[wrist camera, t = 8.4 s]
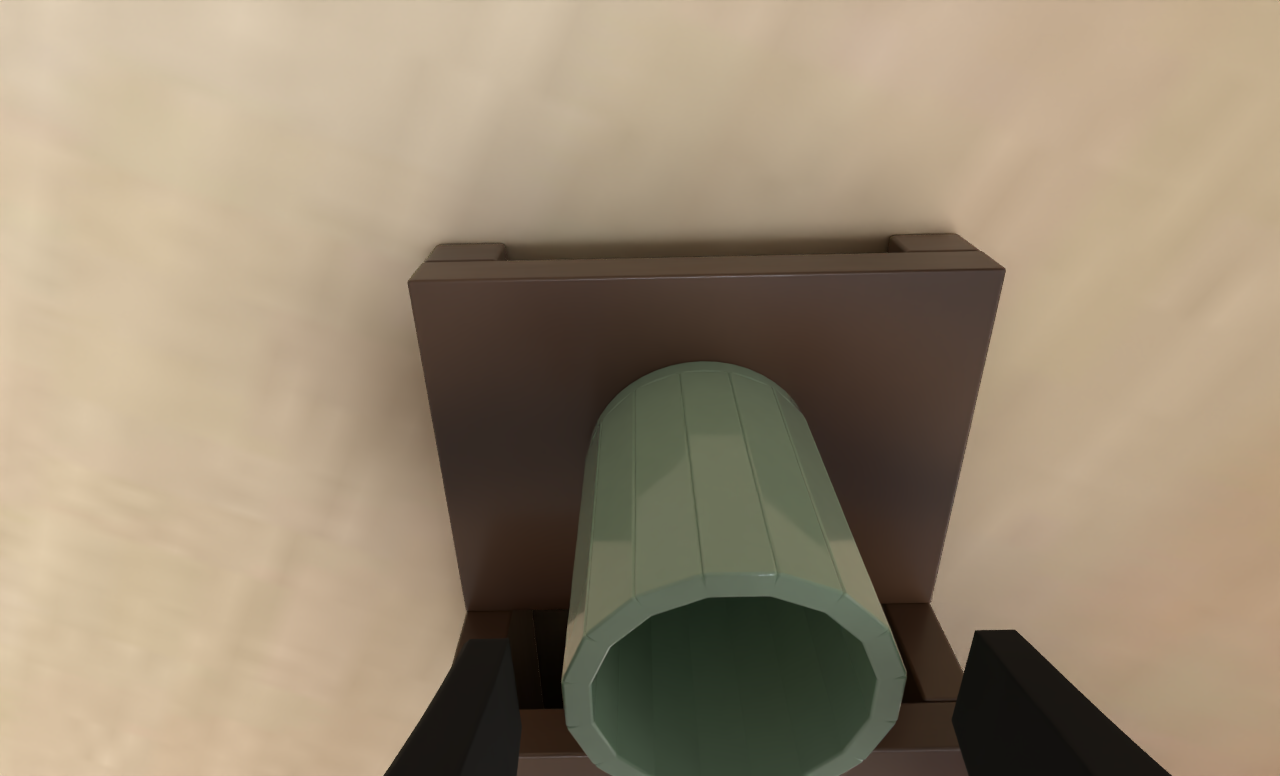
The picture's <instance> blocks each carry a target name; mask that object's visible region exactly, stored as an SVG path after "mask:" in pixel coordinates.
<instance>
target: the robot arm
mask: <svg viewBox="0 0 1280 776" xmlns="http://www.w3.org/2000/svg"><path fill="white" fill-rule="evenodd" d="M951 720H952V724H953V727H954V730H955V734H956V737H957V740H958V744H959V747H960V750H961V754H962V757H963V760H964V763H965V766H966V769H967V772H968V775H969V776H1172V775H1170V774H1169V773H1168V772H1167V771H1166V770H1165V769H1164V768H1162V767H1161V766H1160V765H1159V764H1158V763H1157V762H1156V761H1154V760H1153V759H1152V758H1151V757H1150V756H1149V755H1148V754H1147V753H1146V752H1144V751H1143V750H1142V749H1141V748H1140V747H1139V746H1138V745H1137V744H1136V743H1135V742H1133V741H1132V740H1131V739H1130V738H1129V737H1128V736H1127V735H1126V734H1125V733H1124V732H1122V731H1121V730H1120V729H1119V728H1118V727H1117V726H1116V725H1115V724H1114V723H1113V722H1112V721H1111V720H1110V719H1108V718H1107V717H1106V716H1105V715H1104V714H1103V713H1102V712H1101V711H1100V710H1099V709H1098V708H1097V707H1096V706H1095V705H1094V704H1092V703H1091V702H1090V701H1089V700H1088V699H1087V698H1086V697H1085V696H1084V695H1083V694H1082V693H1081V692H1080V691H1079V690H1078V689H1077V688H1076V687H1075V686H1073V685H1072V684H1071V683H1070V682H1069V681H1068V680H1067V679H1066V678H1065V677H1064V676H1063V675H1062V674H1061V673H1060V672H1059V671H1058V670H1057V669H1056V668H1055V667H1054V666H1053V665H1052V664H1051V663H1050V662H1049V661H1047V660H1046V659H1045V658H1044V657H1043V656H1042V655H1041V654H1040V653H1039V652H1038V651H1037V650H1036V649H1035V648H1034V647H1033V646H1032V645H1031V644H1030V643H1029V642H1028V641H1027V640H1025V639H1024V638H1023V637H1022V636H1021V635H1020V634H1019V633H1018V632H1017V631H1016V630H975V633H974V637H973V641H972V645H971V648H970V652H969V656H968V660H967V663H966V667H965V671H964V674H963V678H962V682H961V686H960V689H959V693H958V697H957V701H956V704H955V708H954V712H953V716H952V719H951ZM521 730H522V724H521V717H520V711H519V704H518V697H517V690H516V683H515V676H514V669H513V662H512V655H511V648H510V641H509V638H497V639H469V640H468V641H467V642H466V643H465V644H464V645H463V647H462V649H461V650H460V652H459V654H458V656H457V658H456V660H455V662H454V664H453V665H452V667H451V669H450V671H449V672H448V674H447V676H446V678H445V679H444V681H443V683H442V685H441V686H440V688H439V690H438V691H437V693H436V695H435V697H434V698H433V700H432V701H431V703H430V705H429V706H428V708H427V710H426V711H425V713H424V715H423V716H422V718H421V719H420V721H419V723H418V724H417V726H416V727H415V729H414V730H413V732H412V733H411V735H410V736H409V738H408V739H407V741H406V742H405V744H404V746H403V747H402V749H401V750H400V752H399V753H398V755H397V756H396V758H395V759H394V761H393V762H392V764H391V765H390V767H389V768H388V770H387V771H386V773H385V774H384V776H517V769H518V759H519V750H520V740H521Z"/></svg>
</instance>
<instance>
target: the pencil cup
mask: <svg viewBox="0 0 1280 776" xmlns="http://www.w3.org/2000/svg"><path fill="white" fill-rule="evenodd" d="M906 672H907V671H906V668H905V666H904V663H903V660H902V658H901V655H900V652H899V650H898V647H897V645H896V642H895V639H894V637H893V634H892V631H891V629H890V626H889V624H888V621H887V619H886V616H885V614H884V611H883V609H882V607H881V604H880V602H879V599H878V597H877V594H876V592H875V589H874V587H873V584H872V582H871V579H870V577H869V574H868V572H867V569H866V567H865V564H864V562H863V559H862V557H861V554H860V552H859V549H858V547H857V545H856V542H855V540H854V537H853V535H852V532H851V530H850V527H849V525H848V522H847V520H846V517H845V515H844V512H843V510H842V507H841V505H840V502H839V500H838V497H837V495H836V492H835V490H834V487H833V485H832V482H831V480H830V478H829V475H828V473H827V470H826V468H825V465H824V463H823V460H822V458H821V455H820V453H819V450H818V448H817V445H816V443H815V440H814V438H813V435H812V433H811V430H810V428H809V425H808V423H807V420H806V418H805V417H804V415H803V413H802V411H801V410H800V408H799V407H798V405H797V404H796V402H795V401H794V400H793V399H792V398H791V397H790V396H789V394H788V393H787V392H786V391H785V390H783V389H782V388H781V387H780V386H778V385H777V384H776V383H775V382H773V381H772V380H770V379H768V378H767V377H765V376H763V375H762V374H759V373H757V372H755V371H752V370H750V369H748V368H744V367H741V366H737V365H734V364H728V363H722V362H711V361H698V362H686V363H681V364H676V365H671V366H668V367H665V368H662V369H658V370H656V371H653V372H651V373H649V374H647V375H645V376H643V377H641V378H639V379H638V380H636V381H635V382H633V383H631V384H630V385H628V386H627V387H626V388H625V389H624V390H622V391H621V392H620V393H619V394H617V396H616V397H615V398H614V399H613V400H612V401H611V402H610V403H609V404H608V405H607V407H606V408H605V410H604V411H603V412H602V414H601V415H600V417H599V419H598V421H597V423H596V425H595V427H594V430H593V433H592V436H591V438H590V443H589V449H588V452H587V455H586V460H585V468H584V478H583V487H582V496H581V505H580V514H579V523H578V533H577V542H576V551H575V560H574V569H573V579H572V588H571V597H570V606H569V615H568V624H567V634H566V643H565V652H564V661H563V670H562V680H561V685H562V695H563V705H564V715H565V723H566V726H567V728H568V730H569V732H570V733H571V734H572V736H573V737H574V739H575V740H576V741H577V743H578V744H579V745H580V747H581V748H582V749H583V751H584V752H585V754H586V755H587V756H588V758H589V759H590V760H591V762H592V763H593V764H594V765H596V767H597V768H599V769H601V770H602V771H604V772H606V773H607V774H609V775H611V776H840V775H842V774H843V773H845V772H847V771H848V770H850V769H852V768H854V767H855V766H857V765H859V764H860V763H862V762H863V760H865V759H867V757H868V756H869V755H870V754H871V753H872V751H873V750H874V749H875V748H876V747H877V745H878V744H879V743H880V742H881V741H882V739H883V738H884V737H885V736H886V735H887V733H888V732H889V731H890V730H891V729H892V727H893V726H894V725H895V723H896V721H897V720H898V716H899V711H900V707H901V702H902V698H903V693H904V688H905V684H906V679H907V675H906Z"/></svg>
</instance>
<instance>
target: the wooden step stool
mask: <svg viewBox="0 0 1280 776" xmlns="http://www.w3.org/2000/svg"><path fill="white" fill-rule="evenodd" d="M1005 272H1006V270H1005V268H1004V267H1003V266H1001V265H1000V264H999V263H997V262H996V261H995V260H993V259H992V258H990V257H989V256H988V255H986V254H985V253H984V252H982V251H979V250H978V249H977V248H976V247H974V246H973V245H972V244H970V243H969V242H968V241H966V240H965V239H964V238H962V237H961V236H959V235H957V234H932V235H894V236H891V237H890V240H889V247H888V253H860V254H811V255H763V256H714V257H665V258H616V259H568V260H519V261H507V257H506V248H505V246H504V244H501V243H498V244H450V245H438V246H436V248H435V249H434V250H433V251H432V253H431V254H430V255H429V256H428V258H427V259H426V260H425V261H424V263H422V264H421V265H420V266H419V268H418V269H417V270H416V271H415V273H414V274H413V275H412V276H411V278H410V279H409V280H408V288H409V293H410V299H411V304H412V310H413V316H414V321H415V327H416V332H417V338H418V344H419V349H420V355H421V360H422V366H423V372H424V377H425V383H426V388H427V394H428V400H429V405H430V411H431V416H432V422H433V428H434V433H435V439H436V444H437V450H438V456H439V461H440V467H441V472H442V478H443V484H444V489H445V495H446V500H447V506H448V512H449V517H450V523H451V528H452V534H453V540H454V545H455V551H456V556H457V562H458V568H459V573H460V579H461V584H462V590H463V596H464V601H465V607H466V610H467V613H466V616H465V620H464V624H463V627H462V631H461V634H460V638H459V642H458V645H457V649H456V653H455V656H454V660H453V664H454V662H455V660H456V658H457V656H458V654H459V652H460V650H461V649H462V647H463V645H464V644H465V643H466V642H467V641H468V640H469V639H497V638H509V641H510V648H511V655H512V662H513V669H514V676H515V683H516V690H517V697H518V704H519V711H520V717H521V724H522V730H521V740H520V750H519V759H518V769H517V776H611V775H609V774H607V773H606V772H604V771H602V770H601V769H599V768H597V767H596V765H594V764H593V763H592V762H591V760H590V759H589V758H588V756H587V755H586V754H585V752H584V751H583V749H582V748H581V747H580V745H579V744H578V743H577V741H576V740H575V739H574V737H573V736H572V734H571V733H570V732H569V730H568V728H567V726H566V723H565V715H564V709H544V704H543V696H542V688H541V679H540V671H539V663H538V655H537V646H536V638H535V630H534V621H533V613H532V610H564V609H569V606H570V597H571V588H572V579H573V569H574V560H575V551H576V542H577V533H578V523H579V514H580V505H581V496H582V487H583V478H584V468H585V460H586V455H587V452H588V449H589V443H590V438H591V436H592V433H593V430H594V427H595V425H596V423H597V421H598V419H599V417H600V415H601V414H602V412H603V411H604V410H605V408H606V407H607V405H608V404H609V403H610V402H611V401H612V400H613V399H614V398H615V397H616V396H617V394H619V393H620V392H621V391H622V390H624V389H625V388H626V387H627V386H628V385H630V384H631V383H633V382H635V381H636V380H638V379H639V378H641V377H643V376H645V375H647V374H649V373H651V372H653V371H656V370H658V369H662V368H665V367H668V366H671V365H676V364H681V363H686V362H698V361H711V362H722V363H728V364H734V365H737V366H741V367H744V368H748V369H750V370H752V371H755V372H757V373H759V374H762V375H763V376H765V377H767V378H768V379H770V380H772V381H773V382H775V383H776V384H777V385H778V386H780V387H781V388H782V389H783V390H785V391H786V392H787V393H788V394H789V396H790V397H791V398H792V399H793V400H794V401H795V402H796V404H797V405H798V407H799V408H800V410H801V411H802V413H803V415H804V417H805V418H806V420H807V423H808V425H809V428H810V430H811V433H812V435H813V438H814V440H815V443H816V445H817V448H818V450H819V453H820V455H821V458H822V460H823V463H824V465H825V468H826V470H827V473H828V475H829V478H830V480H831V482H832V485H833V487H834V490H835V492H836V495H837V497H838V500H839V502H840V505H841V507H842V510H843V512H844V515H845V517H846V520H847V522H848V525H849V527H850V530H851V532H852V535H853V537H854V540H855V542H856V545H857V547H858V549H859V552H860V554H861V557H862V559H863V562H864V564H865V567H866V569H867V572H868V574H869V577H870V579H871V582H872V584H873V587H874V589H875V592H876V594H877V597H878V599H879V602H880V604H881V607H882V609H883V611H884V614H885V616H886V619H887V621H888V624H889V626H890V629H891V631H892V634H893V637H894V639H895V642H896V645H897V647H898V650H899V652H900V655H901V658H902V660H903V663H904V666H905V668H906V671H907V672H906V675H907V679H906V684H905V688H904V693H903V698H902V702H901V707H900V711H899V716H898V720H897V721H896V723H895V725H894V726H893V727H892V729H891V730H890V731H889V732H888V733H887V735H886V736H885V737H884V738H883V739H882V741H881V742H880V743H879V744H878V745H877V747H876V748H875V749H874V750H873V751H872V753H871V754H870V755H869V756H868V757H867V759H865V760H863V762H862V763H860V764H859V765H857V766H855V767H854V768H852V769H850V770H848V771H847V772H845V773H843V774H842V775H840V776H969V775H968V772H967V769H966V766H965V763H964V760H963V757H962V754H961V750H960V747H959V744H958V740H957V737H956V734H955V730H954V727H953V724H952V720H951V719H952V716H953V712H954V708H955V704H956V701H957V697H958V693H959V689H960V686H961V682H962V678H963V674H964V673H963V671H962V669H961V667H960V665H959V663H958V661H957V659H956V657H955V654H954V652H953V650H952V648H951V646H950V644H949V642H948V640H947V638H946V636H945V634H944V632H943V630H942V628H941V626H940V624H939V621H938V619H937V617H936V615H935V613H934V611H933V609H932V607H931V605H930V602H931V599H932V595H933V590H934V586H935V582H936V577H937V573H938V568H939V564H940V559H941V555H942V551H943V546H944V542H945V537H946V533H947V528H948V524H949V520H950V515H951V511H952V506H953V502H954V497H955V493H956V489H957V484H958V480H959V475H960V471H961V467H962V462H963V458H964V453H965V449H966V444H967V440H968V436H969V431H970V427H971V422H972V418H973V413H974V409H975V405H976V400H977V396H978V391H979V387H980V382H981V378H982V374H983V369H984V365H985V360H986V356H987V352H988V347H989V343H990V338H991V334H992V329H993V325H994V321H995V316H996V312H997V307H998V303H999V298H1000V294H1001V290H1002V285H1003V281H1004V276H1005ZM453 664H452V665H453Z"/></svg>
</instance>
